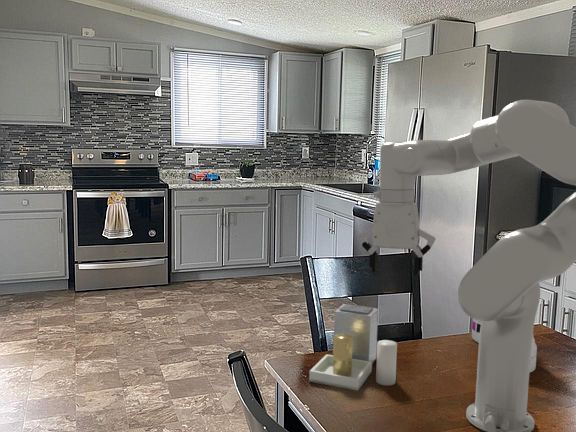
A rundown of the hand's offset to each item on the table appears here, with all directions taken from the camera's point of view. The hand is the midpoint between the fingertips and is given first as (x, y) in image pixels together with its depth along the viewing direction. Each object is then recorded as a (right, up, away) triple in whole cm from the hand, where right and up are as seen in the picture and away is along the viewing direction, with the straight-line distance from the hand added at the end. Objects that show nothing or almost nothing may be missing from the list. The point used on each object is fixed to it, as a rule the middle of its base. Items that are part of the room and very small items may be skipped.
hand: (395, 272), depth 131 cm
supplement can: (+31, -22, +29) cm, 47 cm away
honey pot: (+30, -24, +13) cm, 41 cm away
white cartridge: (-2, -25, 0) cm, 25 cm away
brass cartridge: (-12, -24, +2) cm, 27 cm away
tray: (-12, -24, +3) cm, 27 cm away
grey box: (-8, -23, +13) cm, 27 cm away
